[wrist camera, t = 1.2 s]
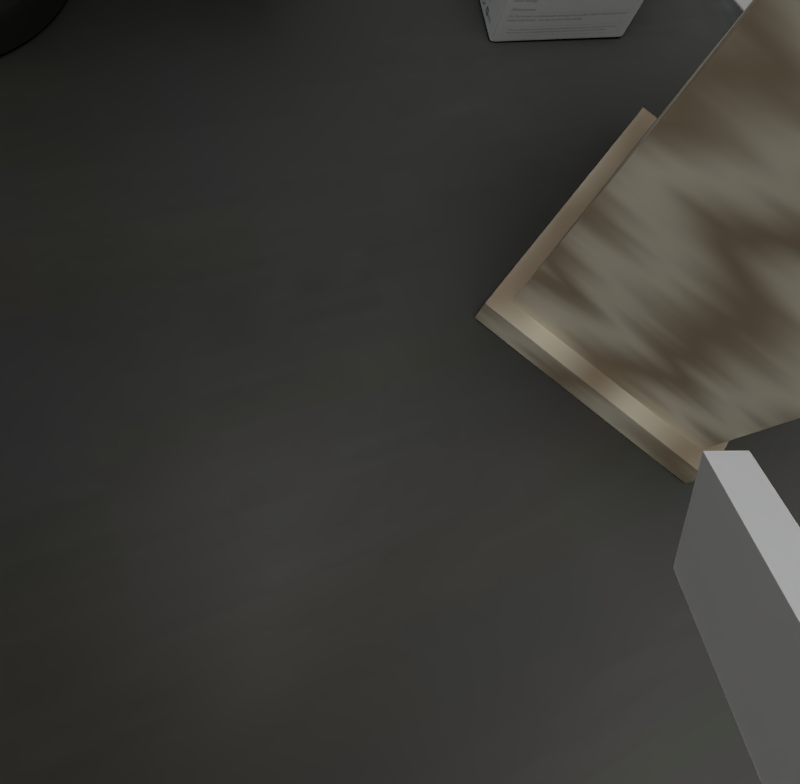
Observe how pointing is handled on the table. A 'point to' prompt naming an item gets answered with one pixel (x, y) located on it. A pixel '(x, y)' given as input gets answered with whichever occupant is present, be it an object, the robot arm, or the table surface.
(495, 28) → the supplement box
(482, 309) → the tall wooden pillar
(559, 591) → the table surface
